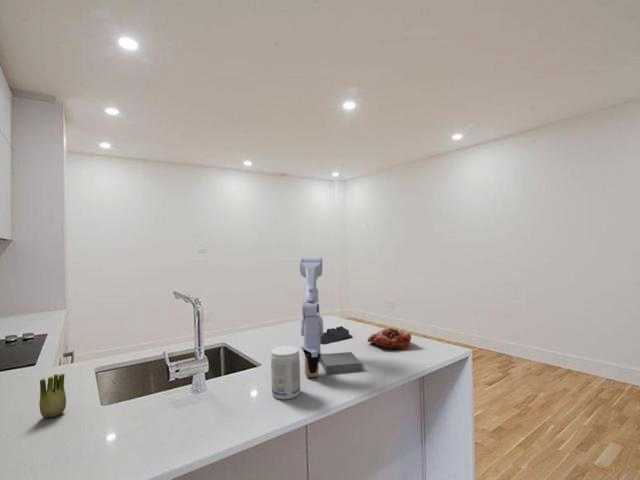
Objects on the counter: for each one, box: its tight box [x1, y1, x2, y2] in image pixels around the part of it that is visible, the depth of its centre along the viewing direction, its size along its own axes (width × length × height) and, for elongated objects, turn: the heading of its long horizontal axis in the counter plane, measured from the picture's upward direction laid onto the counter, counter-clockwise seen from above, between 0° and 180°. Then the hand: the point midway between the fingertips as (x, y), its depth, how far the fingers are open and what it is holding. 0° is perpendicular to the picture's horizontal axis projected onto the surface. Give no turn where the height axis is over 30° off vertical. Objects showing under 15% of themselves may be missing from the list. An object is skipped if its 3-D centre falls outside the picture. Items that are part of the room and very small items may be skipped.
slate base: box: [319, 351, 362, 375], centre depth 139 cm, size 14×14×3 cm
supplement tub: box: [270, 345, 301, 400], centre depth 113 cm, size 10×10×15 cm
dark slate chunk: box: [320, 325, 354, 345], centre depth 180 cm, size 15×22×5 cm
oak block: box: [304, 357, 320, 378], centre depth 128 cm, size 4×4×6 cm
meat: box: [367, 327, 412, 351], centre depth 166 cm, size 21×21×10 cm
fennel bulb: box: [38, 373, 67, 419], centre depth 101 cm, size 6×5×12 cm
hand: (311, 370), depth 128 cm, fingers closed on oak block, 4 cm apart
